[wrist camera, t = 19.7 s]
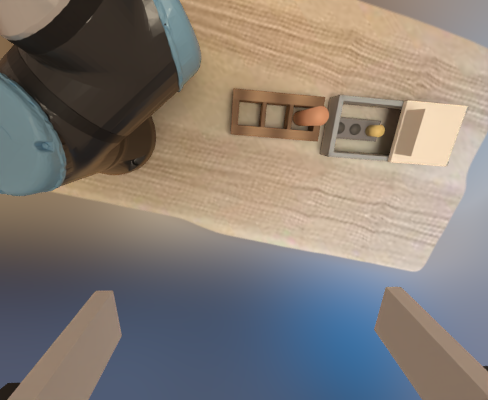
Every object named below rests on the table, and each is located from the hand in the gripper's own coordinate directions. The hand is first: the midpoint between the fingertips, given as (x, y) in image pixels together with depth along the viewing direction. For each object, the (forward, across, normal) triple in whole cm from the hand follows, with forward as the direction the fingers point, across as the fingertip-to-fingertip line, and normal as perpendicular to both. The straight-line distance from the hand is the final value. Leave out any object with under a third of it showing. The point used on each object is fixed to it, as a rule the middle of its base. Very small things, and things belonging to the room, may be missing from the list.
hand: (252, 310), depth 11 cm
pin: (+35, +11, +10) cm, 38 cm away
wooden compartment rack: (+35, +7, +10) cm, 37 cm away
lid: (+30, +32, +8) cm, 45 cm away
